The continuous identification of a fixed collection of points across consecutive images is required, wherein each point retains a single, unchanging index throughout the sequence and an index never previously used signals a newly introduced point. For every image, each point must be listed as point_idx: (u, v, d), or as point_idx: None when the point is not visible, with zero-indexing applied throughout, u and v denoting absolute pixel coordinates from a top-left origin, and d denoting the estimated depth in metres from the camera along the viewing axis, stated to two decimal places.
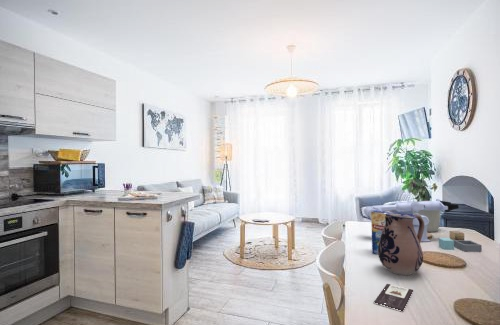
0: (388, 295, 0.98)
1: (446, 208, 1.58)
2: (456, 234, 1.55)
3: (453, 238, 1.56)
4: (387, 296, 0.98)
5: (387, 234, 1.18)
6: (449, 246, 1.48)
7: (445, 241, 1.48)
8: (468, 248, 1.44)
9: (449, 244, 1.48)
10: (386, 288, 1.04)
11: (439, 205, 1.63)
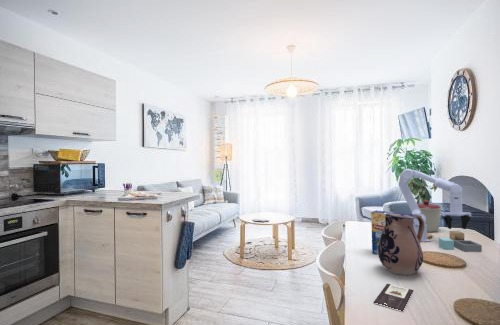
0: (388, 295, 0.98)
1: (442, 214, 1.58)
2: (456, 234, 1.55)
3: (453, 238, 1.56)
4: (387, 296, 0.98)
5: (387, 234, 1.18)
6: (449, 246, 1.48)
7: (445, 241, 1.48)
8: (468, 248, 1.44)
9: (449, 244, 1.48)
10: (386, 288, 1.04)
11: (451, 212, 1.57)
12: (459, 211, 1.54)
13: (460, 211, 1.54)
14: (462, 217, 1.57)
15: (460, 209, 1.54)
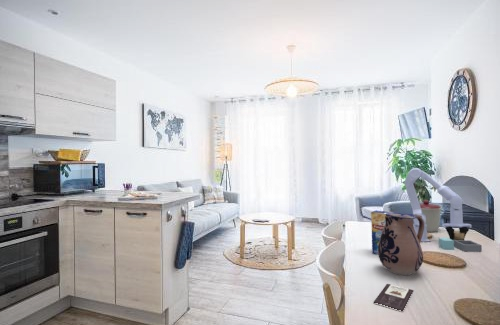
0: (387, 295, 0.98)
1: (442, 225, 1.58)
2: (456, 234, 1.55)
3: None
4: (387, 296, 0.98)
5: (387, 234, 1.18)
6: (449, 246, 1.48)
7: (445, 241, 1.48)
8: (468, 248, 1.44)
9: (449, 244, 1.48)
10: (386, 288, 1.04)
11: (451, 223, 1.57)
12: (459, 223, 1.54)
13: (460, 223, 1.54)
14: (460, 228, 1.57)
15: (460, 221, 1.54)
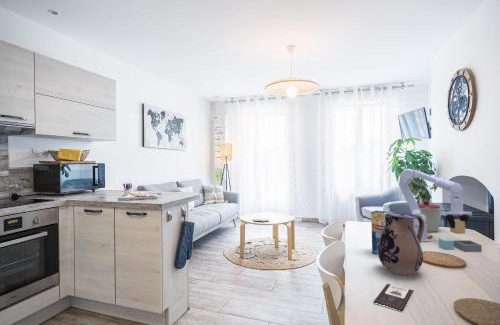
0: (387, 295, 0.98)
1: (443, 213, 1.57)
2: (456, 222, 1.54)
3: None
4: (387, 296, 0.98)
5: (387, 234, 1.18)
6: (449, 246, 1.48)
7: (445, 241, 1.48)
8: (468, 248, 1.44)
9: (449, 244, 1.48)
10: (386, 288, 1.04)
11: (452, 211, 1.56)
12: (460, 210, 1.54)
13: (461, 210, 1.54)
14: (461, 216, 1.57)
15: (461, 208, 1.54)
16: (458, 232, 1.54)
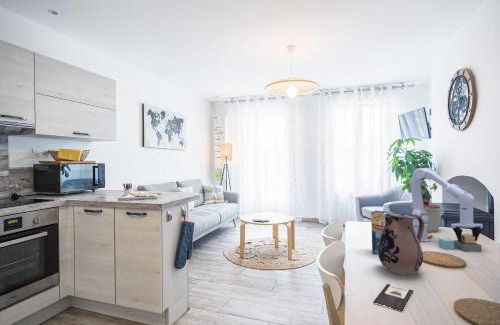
0: (387, 295, 0.98)
1: (452, 225, 1.49)
2: (466, 237, 1.46)
3: (463, 241, 1.47)
4: (387, 296, 0.98)
5: (387, 234, 1.18)
6: (449, 246, 1.48)
7: (445, 241, 1.48)
8: (468, 248, 1.44)
9: (449, 244, 1.48)
10: (386, 288, 1.04)
11: (461, 223, 1.48)
12: (470, 223, 1.45)
13: (471, 223, 1.45)
14: (473, 229, 1.48)
15: (471, 220, 1.45)
16: None
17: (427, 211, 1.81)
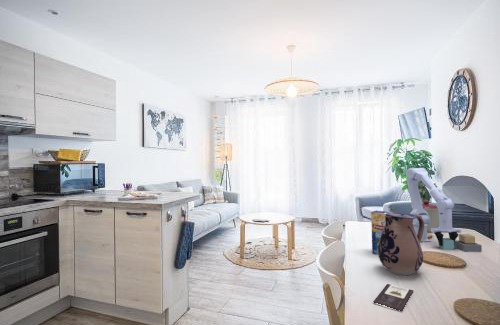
0: (387, 295, 0.98)
1: (431, 230, 1.51)
2: (466, 237, 1.46)
3: (463, 241, 1.47)
4: (387, 296, 0.98)
5: (387, 234, 1.18)
6: (449, 246, 1.48)
7: (445, 241, 1.48)
8: (468, 248, 1.44)
9: (449, 244, 1.48)
10: (386, 288, 1.04)
11: (441, 228, 1.50)
12: (449, 228, 1.48)
13: (450, 228, 1.48)
14: (450, 233, 1.51)
15: (450, 226, 1.48)
16: None
17: (427, 211, 1.81)
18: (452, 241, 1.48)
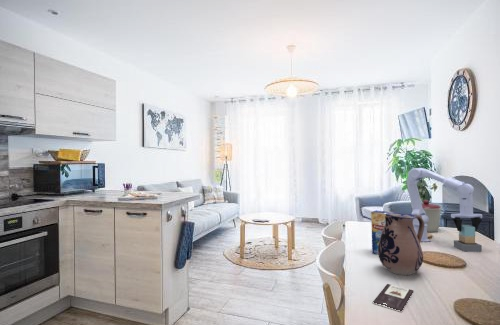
0: (387, 296, 0.98)
1: (451, 216, 1.49)
2: (466, 237, 1.46)
3: (463, 241, 1.47)
4: (386, 296, 0.98)
5: (387, 234, 1.18)
6: (470, 233, 1.45)
7: (466, 228, 1.46)
8: (468, 248, 1.44)
9: (470, 231, 1.45)
10: (386, 288, 1.04)
11: (461, 213, 1.48)
12: (470, 213, 1.45)
13: (471, 213, 1.45)
14: (473, 219, 1.48)
15: (471, 211, 1.45)
16: None
17: (427, 211, 1.81)
18: (473, 228, 1.45)
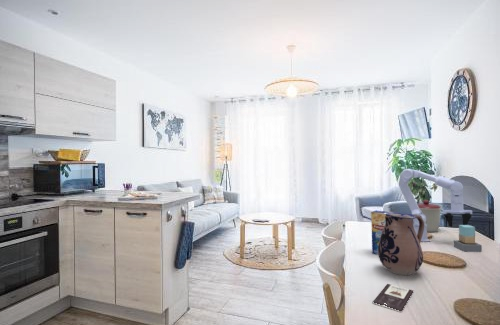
0: (387, 296, 0.98)
1: (443, 212, 1.57)
2: (466, 237, 1.46)
3: (463, 241, 1.47)
4: (386, 296, 0.98)
5: (387, 234, 1.18)
6: (470, 233, 1.45)
7: (466, 228, 1.46)
8: (468, 248, 1.44)
9: (470, 231, 1.45)
10: (386, 288, 1.04)
11: (452, 210, 1.56)
12: (460, 209, 1.53)
13: (461, 209, 1.53)
14: (463, 215, 1.56)
15: (461, 207, 1.53)
16: None
17: (427, 211, 1.81)
18: (473, 228, 1.45)
